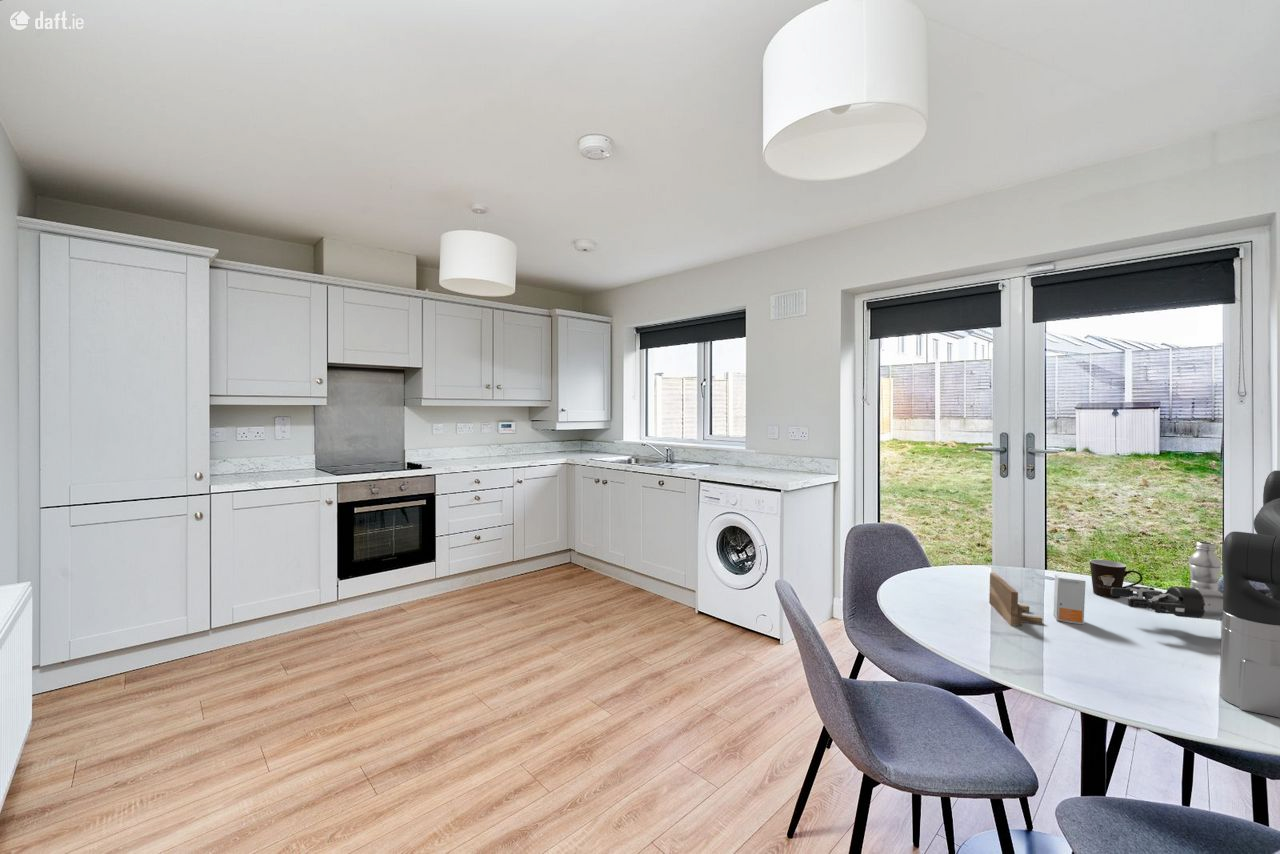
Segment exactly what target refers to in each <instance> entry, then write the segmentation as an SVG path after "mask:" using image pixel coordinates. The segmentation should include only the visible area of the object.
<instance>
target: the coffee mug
mask: <svg viewBox="0 0 1280 854" xmlns="http://www.w3.org/2000/svg"><path fill="white" fill-rule="evenodd" d="M1089 567H1090V575H1091V583H1092V584H1091V585H1092V592H1093V594H1094V595H1095V596H1098V597H1102V598H1105V599H1106V598H1108V599H1116V600H1117V599H1121V597H1118V596H1113V595H1111V588H1112V587H1114V588H1127V586H1138V584H1140V583H1141V582H1142V581H1143V579H1144V578H1143V575H1142V573H1140V572H1139V571H1137V570H1126V569H1127V565H1126V564H1125V563H1122V562H1118V561H1115V560H1109V559H1108V560H1107V559H1100V558H1099V559H1095V558H1092V559H1089ZM1131 573H1135V574H1137V575H1138V576H1139V580H1138V581H1136V582H1134V583H1132V584H1128V585H1125V586H1123V585H1124V580H1125V577H1126V576H1127V575H1128V574H1131Z"/></svg>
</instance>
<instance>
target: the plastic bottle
mask: <svg viewBox="0 0 1280 854" xmlns="http://www.w3.org/2000/svg"><path fill="white" fill-rule="evenodd" d="M1195 549H1196V550H1195V551H1194V552H1193V553H1191V555H1190V556H1189V557H1188V559H1187V560H1188V566H1189V572H1190V587H1189V588H1202V589H1210V590H1216V591H1219V581H1220V579H1219V578H1220V574H1221V570H1222V566H1223V563H1222V561H1221V560H1220V558H1219V557H1218V555H1217V554H1216V553H1215V551H1216V544H1215V543H1213V542H1208V541H1196V544H1195Z"/></svg>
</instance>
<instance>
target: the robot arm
mask: <svg viewBox="0 0 1280 854" xmlns="http://www.w3.org/2000/svg"><path fill="white" fill-rule="evenodd" d="M1262 496H1263V497H1262V507H1261V508H1260V509H1259V510H1258V512H1257V514H1256V516H1255V517H1254V520H1253V527H1254V528H1253V529H1254V530H1255V532H1256V533H1253V532H1245V531H1231V532H1229V533H1228V534H1227V535H1226V536H1225V537H1224V540H1223V543H1222V549H1221V550H1222V551H1221V552H1222V555H1221V556H1222V557H1221V558H1222V559H1221V560H1222V573H1223V574H1222V575H1223V577H1222V579H1223V582H1222V583H1223V588H1222V589H1223V590H1218V591H1216V590H1210V589H1202V588H1190V587H1188V586H1187V587H1186V586H1170V587H1169V588H1168V589H1167V590H1166V592H1163V591H1162V590H1157V589H1155V587H1151V586H1149V587H1147V586H1138V585H1134V586H1128V585H1126V586H1127V588H1114V587H1112V588H1111V595H1113V596H1118V597H1120V598H1128V599H1127V605H1128V607H1130V608H1134V609H1135V608H1136V609H1146V610H1149V611H1154V612H1155V613H1156V614H1164V615H1165V614H1166V615H1168V614H1169V615H1174V616H1176V617H1180V618H1190V619H1202V620H1203V619H1204V620H1222V621H1221V642H1220V643H1221V645H1220V646H1221V647H1220V669H1219V670H1220V671H1219V674H1220V675H1219V696H1220V698H1222V700H1224V701H1226V702H1227V703H1229V704H1232V705H1234V706H1236V707H1238V708H1239V709H1240V710H1243V711H1247V712H1251V713H1257V714H1261V715H1265V716H1271V717H1277V718H1280V470H1273V471H1271V472H1270V473H1268V475H1267V477H1266V479H1265V482H1264V486H1263V494H1262ZM1250 582H1255V583H1261V584H1264V585H1265V586H1266V587H1267V588H1268V589H1267V588H1260V589H1257V588H1256V587H1254V586H1253V585H1252V584H1251V583H1250ZM1134 592H1135V593H1134Z"/></svg>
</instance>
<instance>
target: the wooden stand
mask: <svg viewBox="0 0 1280 854" xmlns="http://www.w3.org/2000/svg"><path fill="white" fill-rule="evenodd" d="M988 594H989V599H988V600H989V601H988V602H989V604H990V605H991V606H992V607H993V608H994V610H996V611H997V613H998V614H999V615H1000V616H1001V617H1002V618H1003V619H1004V620H1005V621H1006V623H1008V625H1010V626H1011V627H1023V626H1022V623H1030V624H1040V625H1043V617H1042V616H1037V615H1036V616H1035V615H1029V614H1027V615H1026V614H1023V612H1026V613H1030V605H1028V604H1027V605H1026V604H1019V592H1018V591H1017V590H1016V589H1014V588H1013V586H1011V585H1010V584H1009V583H1008V582H1006V581H1005V580H1004V579H1003V578H1002V577H1001V576H1000V575H998V574H997V573H996V572H989V593H988Z"/></svg>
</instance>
